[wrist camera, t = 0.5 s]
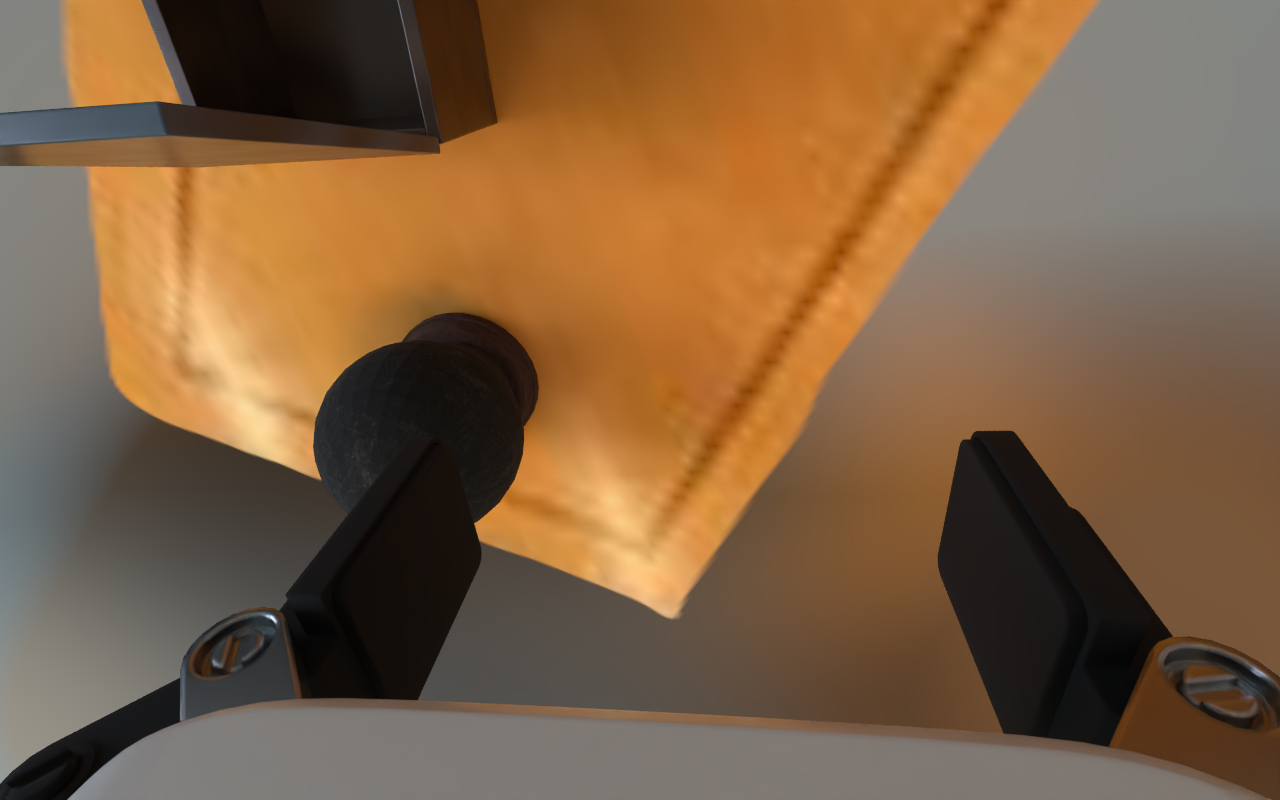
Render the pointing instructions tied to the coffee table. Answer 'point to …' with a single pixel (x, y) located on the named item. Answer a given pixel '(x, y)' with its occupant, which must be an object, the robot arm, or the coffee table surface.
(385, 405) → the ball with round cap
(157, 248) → the coffee table surface
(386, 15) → the brown box
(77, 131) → the blue-grey square panel
